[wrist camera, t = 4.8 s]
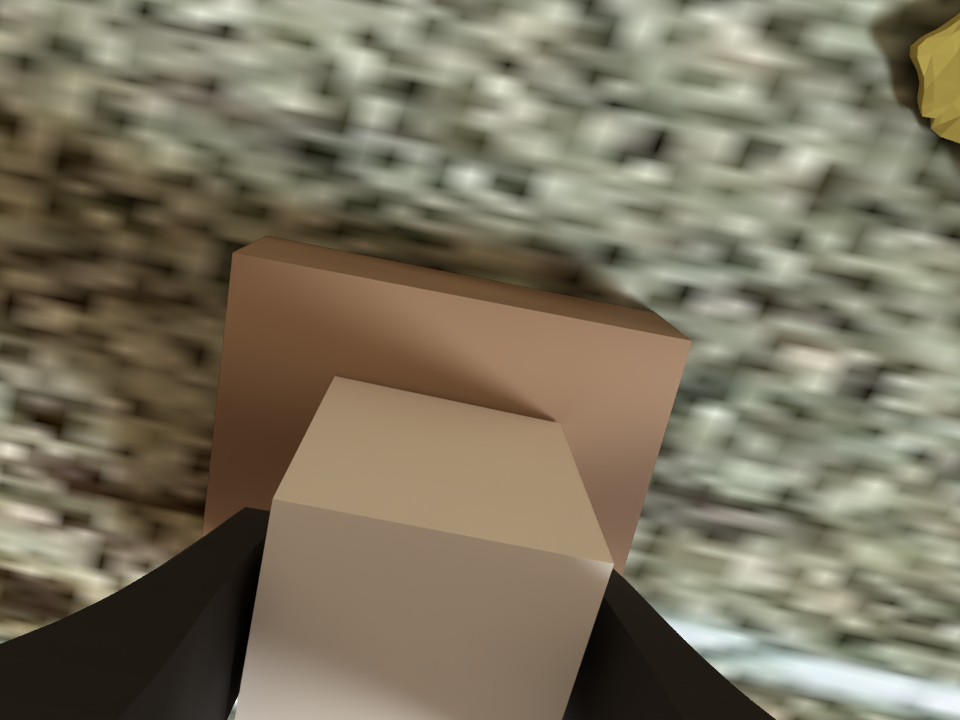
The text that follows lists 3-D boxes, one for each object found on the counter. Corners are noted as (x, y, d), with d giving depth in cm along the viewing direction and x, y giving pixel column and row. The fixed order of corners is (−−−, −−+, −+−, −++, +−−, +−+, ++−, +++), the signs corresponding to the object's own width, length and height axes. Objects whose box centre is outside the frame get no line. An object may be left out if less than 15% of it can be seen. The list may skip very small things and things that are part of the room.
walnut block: (562, 623, 19) (582, 706, 16) (229, 574, 18) (189, 653, 16) (649, 308, 17) (692, 340, 14) (270, 233, 16) (232, 252, 13)
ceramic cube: (504, 612, 16) (528, 819, 11) (297, 574, 15) (225, 774, 10) (559, 423, 14) (613, 563, 10) (334, 375, 14) (272, 498, 9)
